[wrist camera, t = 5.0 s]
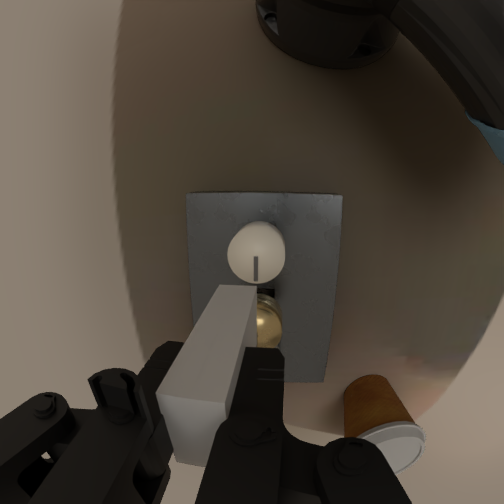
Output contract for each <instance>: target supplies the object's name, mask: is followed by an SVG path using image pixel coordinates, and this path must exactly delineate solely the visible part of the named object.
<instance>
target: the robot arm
mask: <svg viewBox="0 0 504 504" xmlns="http://www.w3.org/2000/svg"><path fill="white" fill-rule="evenodd" d="M256 9H257V14H258V19H259V22H260V24H261V27H262V29H263V30H264V32H265V33H266V35H267V36H268V37H269V39H270V40H271V41H272V42H273V43H274V44H275V45H277V46H278V47H279V48H280V49H282V50H283V51H284V52H286V53H287V54H289V55H291V56H293V57H295V58H297V59H299V60H301V61H303V62H306V63H309V64H312V65H316V66H320V67H325V68H332V69H351V68H357V67H362V66H365V65H368V64H371V63H373V62H375V61H376V60H378V59H379V58H381V57H382V56H383V55H384V54H385V53H386V52H387V51H388V50H389V48H390V47H391V46H392V45H393V43H394V42H395V40H396V38H397V36H398V33H399V31H400V32H401V33H402V34H403V35H404V36H405V37H406V38H407V39H409V40H410V41H411V43H412V44H413V45H414V46H415V47H416V48H417V49H418V50H419V51H420V52H421V53H422V54H423V55H424V57H425V58H426V59H427V60H428V61H429V62H430V63H431V65H432V66H433V67H434V68H435V69H436V71H437V72H438V73H439V74H440V76H441V77H442V78H443V79H444V81H445V82H446V83H447V84H448V86H449V87H450V88H451V90H452V91H453V92H454V94H455V95H456V97H457V98H458V99H459V101H460V102H461V104H462V105H463V106H464V108H465V114H466V115H467V117H468V119H469V120H470V121H471V122H472V123H473V124H474V125H476V126H477V127H478V129H479V130H480V132H481V133H482V135H483V136H484V138H485V139H486V141H487V142H488V144H489V145H490V147H491V149H492V150H493V152H494V154H495V155H496V157H497V158H498V159H499V161H500V162H501V163H502V164H503V165H504V0H256ZM256 346H257V286H243V285H219V286H218V288H217V289H216V291H215V293H214V295H213V296H212V298H211V300H210V301H209V303H208V305H207V306H206V308H205V310H204V311H203V313H202V315H201V316H200V318H199V320H198V321H197V323H196V325H195V326H194V328H193V330H192V332H191V333H190V335H189V337H188V338H187V340H186V342H185V343H183V342H174V341H167V342H166V343H164V344H163V345H161V346H159V347H158V348H157V349H156V350H155V351H154V353H153V354H152V356H151V357H150V360H148V361H147V363H146V364H145V365H144V368H142V370H141V371H140V372H139V374H138V375H136V374H135V373H134V372H132V371H129V370H127V369H121V368H112V369H105V370H102V371H100V372H98V373H95V374H94V375H92V376H91V377H90V378H89V379H88V382H89V384H90V387H91V389H92V392H93V395H94V397H95V400H96V402H97V404H98V407H97V408H96V409H93V410H91V409H74V408H70V407H69V405H68V403H67V401H66V400H65V398H64V397H63V396H62V395H60V394H57V393H53V392H45V393H40V394H38V395H36V396H34V397H32V398H30V399H29V400H28V401H26V402H24V403H23V404H22V405H20V406H19V407H17V408H16V409H14V410H13V411H12V412H10V413H8V414H7V415H5V416H4V417H3V418H1V419H0V504H160V503H161V500H162V497H163V495H164V492H165V490H166V487H167V484H168V482H169V479H170V473H171V470H170V468H169V465H168V463H169V460H170V458H171V455H172V453H174V456H175V458H176V461H177V462H180V463H185V464H190V465H195V466H201V467H206V468H205V471H204V474H203V478H202V481H201V484H200V488H199V491H198V494H197V498H196V501H195V504H412V502H411V501H410V499H409V498H408V496H407V494H406V492H405V490H404V489H403V487H402V485H401V484H400V482H399V480H398V478H397V477H396V475H395V473H394V472H393V470H392V468H391V467H390V465H389V463H388V461H387V460H386V458H385V456H384V455H383V453H382V452H381V450H380V449H379V448H378V447H377V446H376V445H375V444H373V443H371V442H369V441H367V440H365V439H362V438H356V437H346V438H339V439H336V440H334V441H331V442H329V443H328V444H327V445H326V446H319V445H315V444H310V443H307V442H304V441H301V440H299V439H297V438H296V437H294V436H293V435H291V434H290V433H289V432H288V431H287V429H286V428H285V426H284V424H283V395H284V368H285V358H284V356H283V355H282V353H281V352H280V350H279V349H278V348H261V347H256ZM45 452H47V453H48V454H49V455H50V457H51V458H49V459H44V458H42V456H41V455H43V454H44V453H45Z"/></svg>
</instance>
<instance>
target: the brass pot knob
mask: <svg viewBox="0 0 504 504" xmlns="http://www.w3.org/2000/svg"><path fill="white" fill-rule="evenodd" d="M281 336H282V309H281V307H280V305H279V303H278V302H277V301H276V300H275V299H274V298H272V297H270V296H268V295H266V294H264V293H257V346H256V347H261V348H275V347H276V346H277V345H278V343H279V342H280V340H281Z"/></svg>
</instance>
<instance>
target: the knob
mask: <svg viewBox="0 0 504 504" xmlns="http://www.w3.org/2000/svg"><path fill="white" fill-rule="evenodd" d="M227 256H228V263H229V265H230V267H231V269H232V271H233V272H234V273H235V274H236V275H237V276H238V277H239V278H240V279H242V280H244V281H246V282H249V283H255V284H258V283H265V282H268V281H270V280H272V279H273V278H275V277H276V276H277V275H278V274H279V273H280V271H281V270H282V268H283V265H284V262H285V241H284V237H283V235H282V233H281V232H280V231H279V229H278V228H277V227H275V226H274V225H272V224H270V223H268V222H264V221H254V222H251V223H248V224H246V225H245V226H244V227H242V228H241V229H240V231H239V232H238V233H237V234H236V235H235V237H234V238H233V239H232V241H231V242H230V244H229V247H228V253H227Z"/></svg>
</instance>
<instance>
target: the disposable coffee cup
mask: <svg viewBox="0 0 504 504" xmlns="http://www.w3.org/2000/svg"><path fill="white" fill-rule="evenodd" d="M346 437H356V438H362V439H365V440H367V441H369V442H371V443H373V444H375V445H376V446H377V447H378V448H379V449H380V450H381V452H382V453H383V455H384V456H385V458H386V460H387V461H388V463H389V465H390V467H391V468H392V470H393V472H394V473H395V475H397V474H399V473H401V472H403V471H405V470H406V469H407V468H409V467H411V466H412V465H413V464H414V463H415V462H417V461H418V459H419V458H420V457H421V456H422V454H423V452H424V449H425V440H426V435H425V432H424V430H423V429H422V428H421V427H420V426H418V425H417V424H415V422H414V420H413V419H412V418H411V416H410V415H409V413H408V412H407V410H406V408H405V407H404V405H403V404H402V402H401V400H400V399H399V397H398V396H397V394H395V391H394V390H393V388H392V387H391V385H390V384H389V382H388V381H387V379H386V378H384V377H382V376H380V375H368V376H364V377H361V378H359V379H357V380H355V381H354V382H353V383H351V384H350V385H349V386H348V388H347V389H346V391H345V393H344V438H346Z"/></svg>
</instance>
